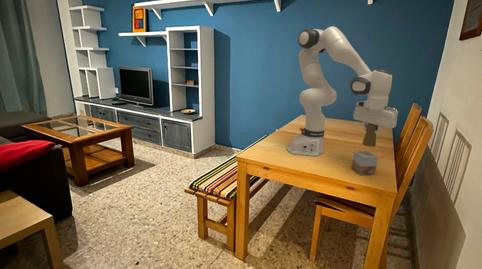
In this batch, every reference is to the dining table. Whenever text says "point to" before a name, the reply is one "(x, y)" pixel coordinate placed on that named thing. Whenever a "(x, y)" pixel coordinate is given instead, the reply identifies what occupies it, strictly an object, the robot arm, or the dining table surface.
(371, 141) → the cork
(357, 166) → the walnut block
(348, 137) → the dining table surface
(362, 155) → the grey block
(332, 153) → the dining table surface
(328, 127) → the dining table surface
